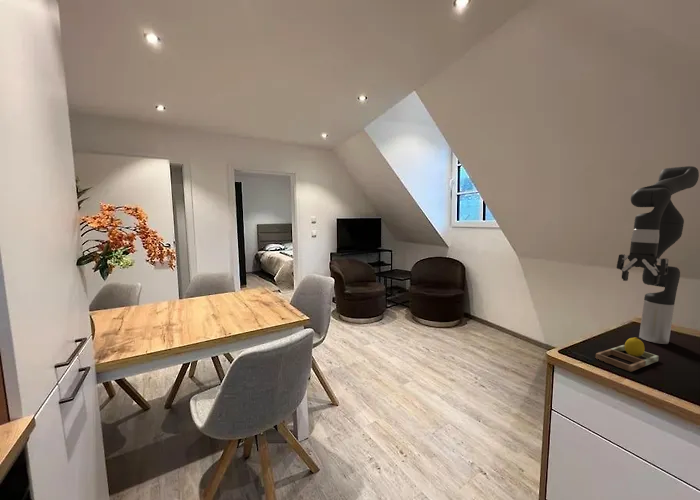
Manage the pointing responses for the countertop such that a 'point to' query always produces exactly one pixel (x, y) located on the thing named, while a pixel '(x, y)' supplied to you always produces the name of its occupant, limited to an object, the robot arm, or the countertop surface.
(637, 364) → the frame
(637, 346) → the lemon
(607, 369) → the countertop surface
